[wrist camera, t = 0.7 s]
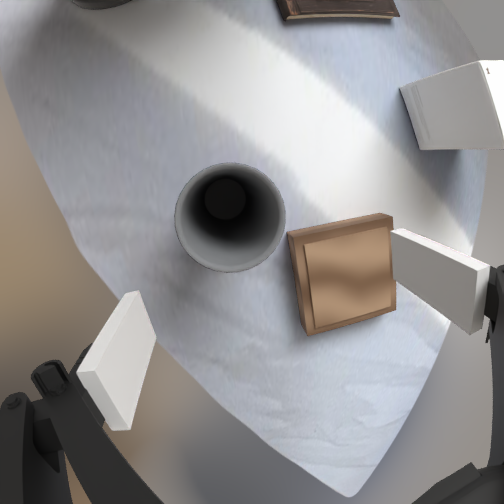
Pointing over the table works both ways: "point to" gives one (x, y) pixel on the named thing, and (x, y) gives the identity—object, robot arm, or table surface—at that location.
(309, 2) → the hardcover book
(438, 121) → the supplement box
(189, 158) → the table surface
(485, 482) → the robot arm
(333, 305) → the pedestal
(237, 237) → the cup
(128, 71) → the table surface
